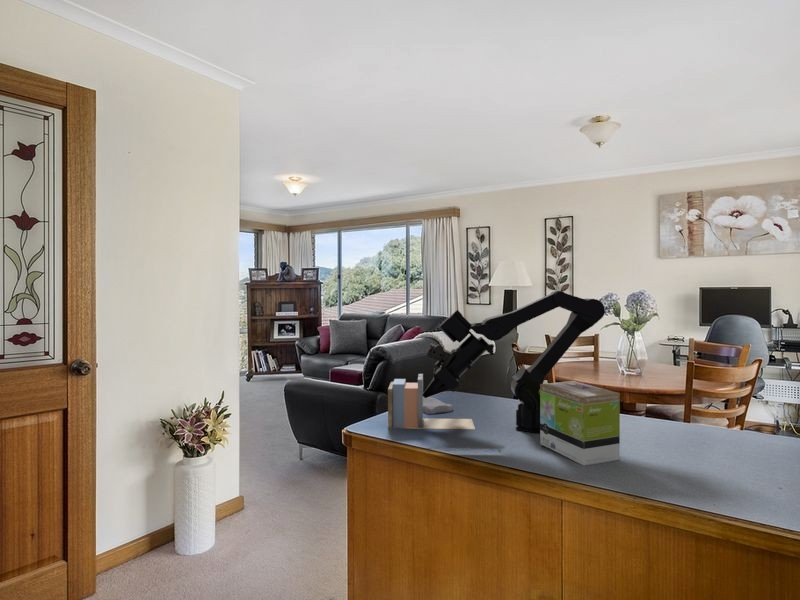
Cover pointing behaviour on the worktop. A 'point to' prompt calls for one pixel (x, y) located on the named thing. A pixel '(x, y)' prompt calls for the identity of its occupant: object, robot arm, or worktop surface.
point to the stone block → (435, 406)
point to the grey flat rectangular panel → (420, 400)
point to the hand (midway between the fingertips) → (423, 396)
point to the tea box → (580, 421)
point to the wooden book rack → (429, 422)
